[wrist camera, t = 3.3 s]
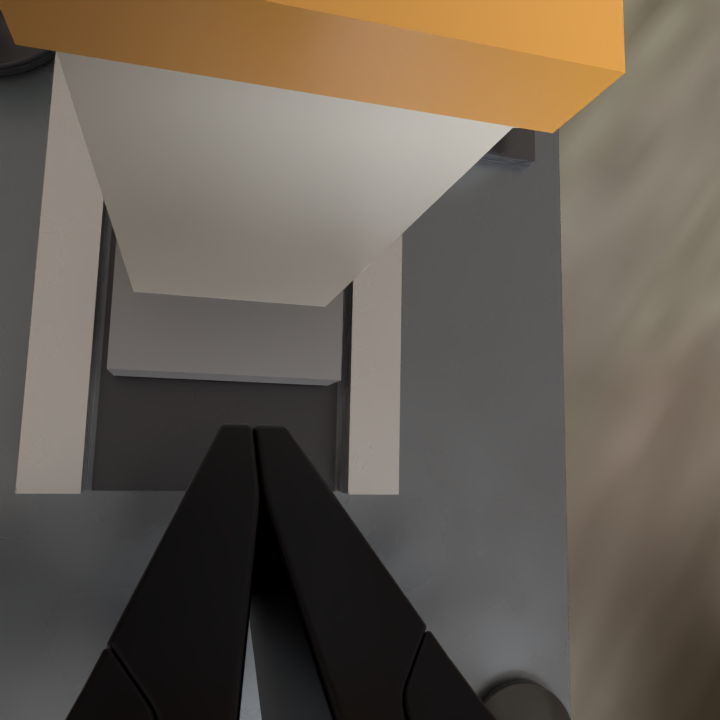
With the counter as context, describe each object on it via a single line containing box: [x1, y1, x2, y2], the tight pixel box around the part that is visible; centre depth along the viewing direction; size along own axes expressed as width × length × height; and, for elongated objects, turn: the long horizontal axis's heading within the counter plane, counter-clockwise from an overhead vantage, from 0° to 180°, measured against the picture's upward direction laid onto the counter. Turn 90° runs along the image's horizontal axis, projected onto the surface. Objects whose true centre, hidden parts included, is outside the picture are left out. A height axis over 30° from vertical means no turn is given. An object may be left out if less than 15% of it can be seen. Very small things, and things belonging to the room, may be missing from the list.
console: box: [0, 10, 571, 720], centre depth 15 cm, size 24×18×2 cm
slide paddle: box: [0, 0, 625, 386], centre depth 10 cm, size 5×5×11 cm
